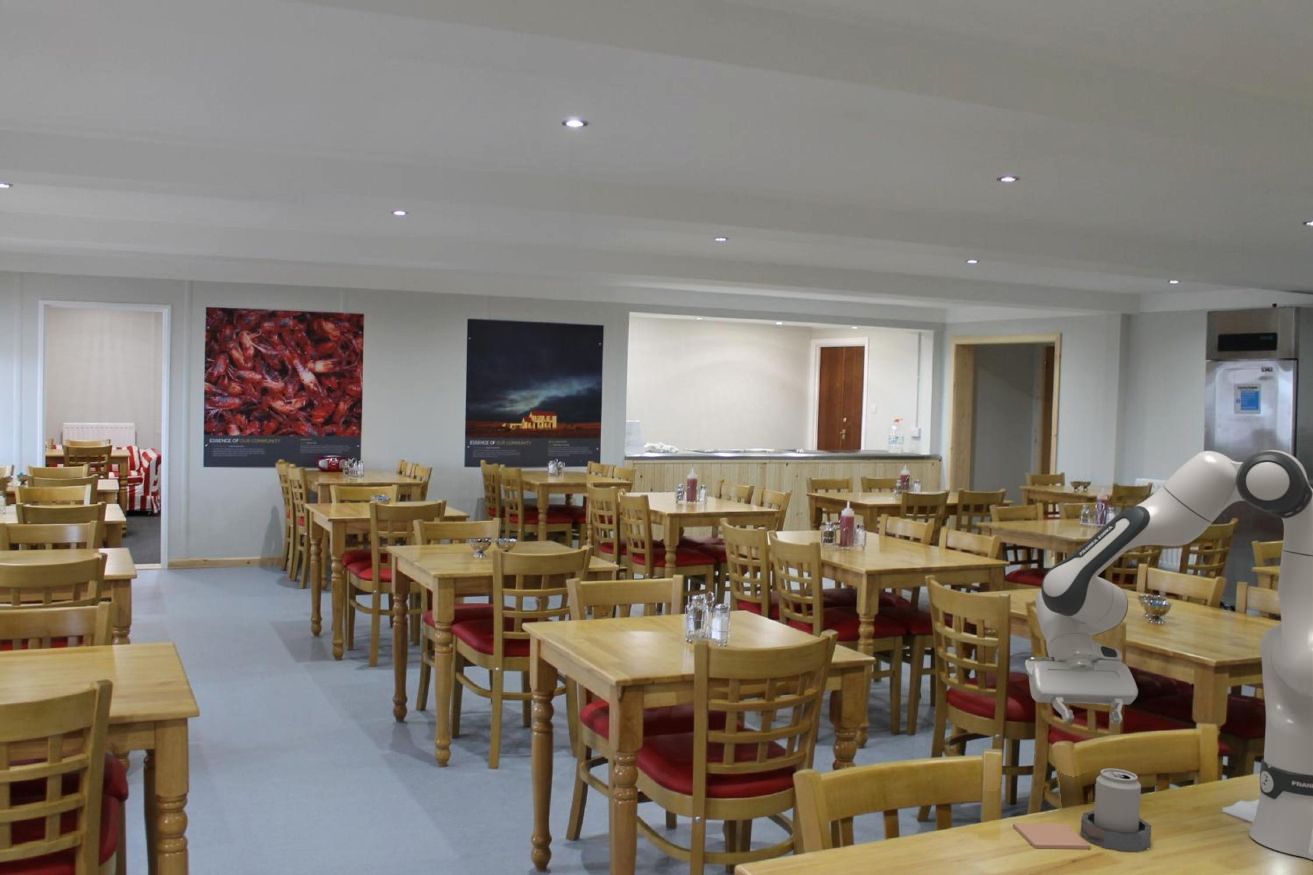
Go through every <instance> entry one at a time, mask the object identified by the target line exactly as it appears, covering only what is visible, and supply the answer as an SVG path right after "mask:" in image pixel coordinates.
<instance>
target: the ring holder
mask: <svg viewBox="0 0 1313 875" xmlns="http://www.w3.org/2000/svg"><path fill="white" fill-rule="evenodd" d="M1094 813H1095V809H1094V810H1091V811H1090V810H1089V811H1085V812H1083V813H1082V816H1081V819H1080V820H1081V822H1080V837H1083V839H1084V840H1085V841H1086V842H1088V841H1089V843H1092V844H1094V845H1096V846H1099V847H1101V848H1103V849H1104V848H1105V849H1109V848H1112V849H1111V850H1114V849H1115V851H1119V850H1120V851H1121V852H1142V851H1141V850H1143V851H1145V849H1146V850H1148V849H1147V848H1149V849H1150V848H1151V843H1152V842H1151V840H1152V839H1151V837H1152V825H1151V824H1150V823H1148V822H1147V821H1145V820H1144V819H1143V818H1140V817H1139V831H1138V832H1119V831H1114V830H1108V829H1105V828H1102V827H1100V826H1097V825H1094ZM1120 851H1119V852H1120Z"/></svg>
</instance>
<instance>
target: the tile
mask: <svg viewBox="0 0 1313 875" xmlns="http://www.w3.org/2000/svg"><path fill="white" fill-rule="evenodd" d="M1012 827H1013V828H1014V830H1016V831H1017V833H1019V834H1020V835H1021V836H1022V837H1023V838H1024V839H1025V840H1026V841H1027V842H1028V843H1029V844H1030V845H1031V844H1032V845H1031V846H1032V847H1033V848H1034V849H1050V848H1052V849H1053V848H1054V849H1055V848H1056V849H1059V850H1061V849H1064V850H1067V849H1068V850H1091V848H1092V847H1091V845H1090V844H1089V843H1088V841H1087V840H1086V839H1085V838H1082V836H1081V835H1079V834H1077V832H1076V831H1074V829H1072V828H1071V827H1070V826H1069V825H1067V824H1066V823H1061V824H1060V823H1015V822H1014V823H1012ZM1069 848H1070V849H1069ZM1076 848H1077V849H1076ZM1054 849H1053V850H1054Z"/></svg>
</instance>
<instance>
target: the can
mask: <svg viewBox="0 0 1313 875" xmlns="http://www.w3.org/2000/svg"><path fill="white" fill-rule="evenodd" d="M1141 790H1142V784H1141V783H1140V782H1139V781H1138V775H1137V774H1136V773H1133V772H1131V771H1128V770H1124V769H1120V768H1111V767H1109V768H1103V769H1101V770H1100V775H1099V776H1097V777H1096V781H1095V796H1094V799H1095V800H1094V810H1095V813H1094V825H1097V826H1100V827H1102V828H1105V829H1108V830H1114V831H1119V832H1138V831H1139V818H1140V812H1141V811H1140V810H1141V794H1142V793H1141V792H1142V791H1141Z"/></svg>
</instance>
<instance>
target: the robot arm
mask: <svg viewBox="0 0 1313 875" xmlns="http://www.w3.org/2000/svg"><path fill="white" fill-rule="evenodd" d="M1242 501H1243V502H1245V503H1246V502H1247V504H1249V505H1250V506H1252V507H1253V508H1256V509H1257V510H1260V511H1263V512H1266V513H1268V514H1270V515H1273V516H1276V517H1278V518H1281V520H1282V522H1283V540H1282V545H1281V546H1282V548H1281V557H1280V565H1279V573H1278V575H1279V576H1278V583H1277V590H1276V591H1277V598H1278V601H1279V609H1280V611H1279V612H1280V622H1281V624H1277V625H1273V626H1272V627H1270V628H1269V629H1268V630H1266V632H1264V634H1263V635H1262V637H1261V639H1260V643H1259V653H1260V657H1261V669H1262V670H1261V671H1262V686H1263V697H1264V706H1265V733H1264V734H1265V735H1264V752H1263V758H1262V759H1261V761H1260V771H1259V790H1260V791H1259V792H1260V794H1259V799H1258V805H1257V808H1256V812H1255V816H1254V819H1253V822H1252V825H1251V828H1250V829H1249V832H1248V835H1249V836H1250V838H1251V839H1252V840H1253V841H1255V842H1257V843H1259V844H1260V845H1262V846H1263V847H1267V848H1270V849H1271V850H1274V851H1278V852H1281V853H1284V854H1289V855H1293V856H1298V857H1302V858H1306V859H1309V860H1311V861H1313V488H1312V487H1311V484H1310V483H1309V477H1308V472H1307V470H1306V468H1305V466H1304V465H1303V464H1302V463H1301V462H1300V460H1298V458H1296V457H1295V456H1294V455H1292V454H1290V453H1288V452H1286V451H1282V450H1276V449H1275V450H1274V449H1272V450H1271V449H1269V450H1263V451H1259V452H1257V453H1254V454H1251V455H1250V456H1249V457H1247V458H1246V459H1245V460H1242V461H1235V460H1233V459H1231V458H1230V457H1228V456H1227V455H1225V454H1223V453H1220V452H1218V451H1213V450H1205V451H1204V450H1203V451H1201V452H1198V453H1196V455H1194V456H1193V457H1191V458H1190V459H1189V460H1188V461H1186V462H1185V463H1184V464H1182V466H1180V467H1179V468H1178V469H1177V470H1176V471H1174V473H1173V474H1171V476H1170V477H1169V478H1167V480H1166V481H1164V483H1163V484H1162V485H1161V486H1160V487H1159V488H1158V489H1157V490H1156V491H1155V492H1154V493H1153V494H1152V495H1150V496H1149V497H1148V498H1146V499H1145V500H1144V501H1142V502H1140V503H1138V504H1136V505H1134V506H1130V507H1128V508H1126V509H1124V510H1122V511H1121V512H1119V513H1118V514H1117V515H1115V516H1114V517H1113V518H1112V519H1111V520H1110V521H1109V522H1108V523H1106V524H1105V525H1104V526H1103V527H1101V529H1100V530H1098V531H1097V532H1096V533H1094V535H1093V536H1092V537H1091V536H1090V538H1089V539H1088V540H1087V541H1086V542H1085V543H1083V545H1081V546H1080V547H1079V548H1078V549H1077V550H1075V551H1074V552H1073V553H1072V554H1071V555H1069V556H1067V557H1066V558H1064V559H1062V560H1060V561H1059V562H1058V563H1056V564H1055V565H1053V566H1052V567H1050V568H1049V569H1048V571H1047V572H1046V573H1045V574H1044V576H1043V578H1042V580H1041V581H1042V582H1041V585H1040V587H1041V588H1040V590H1039V591H1038V592H1037V595H1036V597H1035V611H1036V617H1037V619H1038V620H1037V621H1038V624H1039V628H1040V631H1041V634H1042V636H1043V637H1044V638H1045V641H1046V642H1045V643H1046V644H1045V645H1046V652H1047V655H1048V657H1047V656H1042V657H1041V656H1040V657H1038V656H1031V657H1029V658H1028V659H1026V660H1025V661H1024V668H1025V672H1026V674H1027V675H1028V682H1029V689H1030V696H1031V697H1032V699H1033V700H1034V701H1035V702H1037V703H1048V704H1050V703H1051V704H1052V707H1053V708H1054V709H1055V710H1056V712H1058V713H1059V714H1060V715H1061V717H1062V721H1063V723H1072V722H1073V721H1074V720H1075V715H1074V713H1073V710H1072V709H1068V708H1067V707H1066V706H1065V704H1091V705H1092V704H1093V705H1095V704H1097V705H1099V704H1100V705H1110V706H1111V708H1112V709H1114V710H1112V712H1111V713H1110V714H1109V719H1110V722H1111V724H1121V723H1122V722H1123V716H1122V712H1121V711H1122V707H1123V705H1131V704H1132V703H1133V702H1134V701H1135V700H1136V698H1137V697H1138V694H1139V689H1138V687H1137V684H1136V681H1135V679H1134V677H1133V674H1132V672H1131V671H1130V670H1131V669H1130V668H1129V667H1128V666H1127V664H1125V663H1123V662H1122V659H1123V653H1122V652H1121V651H1120V650H1119V649H1117V648H1115V647H1111V646H1107V645H1104V644H1102V643H1098V642H1096V641H1093V639H1092V636H1097V635H1099V634H1100V635H1101V634H1103V633H1105V632H1107V631H1110V630H1113V629H1115V628H1117V627H1118V626H1119V625H1120V624H1121V623H1122V622H1123V621H1124V620H1125V618H1126V616H1127V613H1128V610H1129V600H1128V596H1127V594H1126V592H1125V590H1124V589H1123V588H1122V587H1121V586H1118V585H1117V584H1114V583H1112V582H1111V581H1109V580H1106V579H1105V578H1102V577H1099V575H1100V574H1101V573H1102V572H1103V571H1104V570H1106V569H1107V568H1108V567H1109V566H1111V565H1112V563H1114V562H1115V561H1116V560H1117V559H1118V558H1119V557H1121V555H1123V554H1124V553H1125V552H1127V551H1129V550H1131V549H1133V548H1137V547H1141V546H1166V547H1179V546H1184V545H1188V544H1190V543H1192V542H1193V541H1195V540H1196V539H1197V538H1199V537H1200V536H1201V535H1202V534H1203V533H1205V532H1206V530H1207V529H1208V528H1209V527H1210V526H1211V525H1212V523H1213V522H1215V521H1216V519H1217V518H1218V517H1219V516H1220V515H1221V514H1222V513H1223V511H1225V510H1226V509H1227V508H1228V507H1229V506H1231V505H1232V504H1234V503H1236V502H1242Z"/></svg>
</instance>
